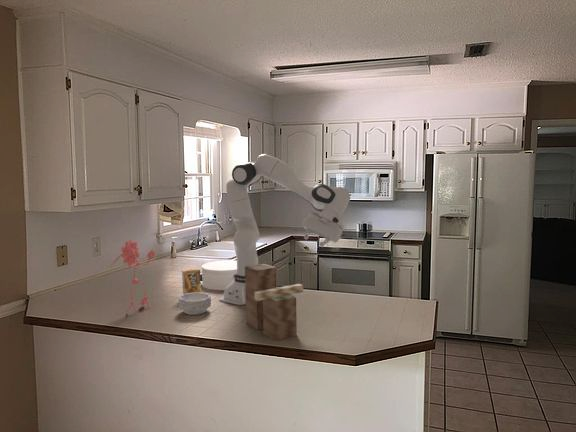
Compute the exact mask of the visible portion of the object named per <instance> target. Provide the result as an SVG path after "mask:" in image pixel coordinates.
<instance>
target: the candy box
mask: <svg viewBox="0 0 576 432" xmlns="http://www.w3.org/2000/svg"><path fill="white" fill-rule="evenodd" d="M181 274H182V276H181V278H182V280H181V281H182V295H183V294H187V293H196V292H198V293H202V288H201V287H202V283H201V282H202V279H201V269H199V268H193V269H184V270H182V271H181Z"/></svg>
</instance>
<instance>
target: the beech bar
mask: <svg viewBox="0 0 576 432" xmlns="http://www.w3.org/2000/svg"><path fill="white" fill-rule="evenodd" d="M300 293H304V284H301V283H296V284H295V283H294V284H290V285H283V286H281V287H277V288H273V289H268V290H262V291H257V292H254V299H255V300H257V301H260V300H266V299H271V298H276V297H281V296H286V295H295V294H300Z"/></svg>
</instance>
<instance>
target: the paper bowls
mask: <svg viewBox="0 0 576 432" xmlns="http://www.w3.org/2000/svg"><path fill="white" fill-rule="evenodd" d="M211 306H212V296H211V294H209V293H206V292H201V293H198V292H196V293H187V294H183V293H182V294H181V295H180V296H178V307H179V309H180V310H183V313H185V314H186V315H191V316H197V315H203V314H204V313H206V312H207V310H208V309H209V308H211Z"/></svg>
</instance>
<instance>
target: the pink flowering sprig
mask: <svg viewBox="0 0 576 432" xmlns="http://www.w3.org/2000/svg"><path fill="white" fill-rule="evenodd" d="M137 245H138V241H136V240H135V241H133V240H132V239H129V240H125V244H124V246H121V253H120V255H118V257H117V258H115V260H114V261H113V262H112V264H111V265H110V266H111V267H112V266H114V264H116V262H117V261H118V260H119V259H120V258H121V257H122V258H123V260H122V261H123V264H127V266H128V267H129V269H132V268H133V279H132V281H131V282H132V284H131V290H130V291H131V293H130V294H131V297H130V298H131V302H130V305H129V306H128V307H129V308H128V309H127V311H126V313H128V312H129V311H130V309H131V307H132V306H133V309H134V312H135V313H136V315H139V314H138V313H139V312H138V311H137V309H136V307H135V305H134V300H133V288H134V287H133V286H134V285H136V284H138V283H139V284H142V285H146V283H145V282H141V281H139V280H138V279H137V278H135V277H136V268H137V267H138V266H140V265H141V266H148V264H149V262H150V261H151V259H153V258H154V256H155V254H156V252H155V251H154V250H152V249H151V250H150V251H149V252H147V256H146V257H147V259H148V260H147V263H139V260H138V259H139V258H140V252H139V247H138V246H137ZM143 296H144V297H142V299H141V300H140V305H141V306H142V307H143V306H145V304H147V306H148V309H151V307H150V304H149V302H148V299H149V298H148V296H147V295H146V291H144V295H143ZM156 305H158V306H159V305H160V304H159V303H158V304H156Z"/></svg>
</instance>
